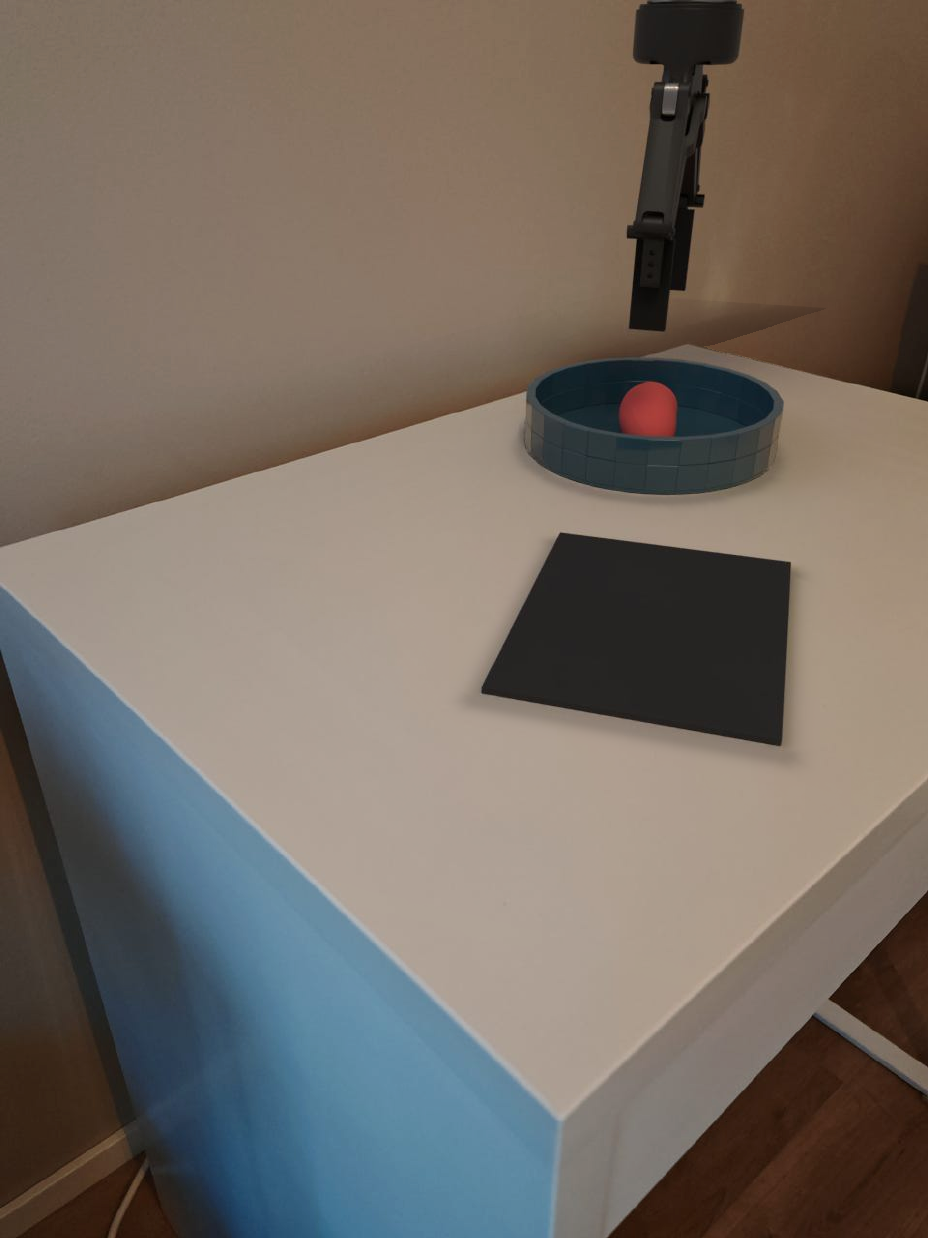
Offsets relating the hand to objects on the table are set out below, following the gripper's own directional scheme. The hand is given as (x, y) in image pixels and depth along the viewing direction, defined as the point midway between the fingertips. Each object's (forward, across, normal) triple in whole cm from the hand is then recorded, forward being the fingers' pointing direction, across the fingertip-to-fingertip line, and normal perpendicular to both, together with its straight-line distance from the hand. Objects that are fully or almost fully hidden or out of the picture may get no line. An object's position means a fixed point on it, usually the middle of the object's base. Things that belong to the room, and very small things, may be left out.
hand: (659, 308), depth 79 cm
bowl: (+12, 0, 0) cm, 12 cm away
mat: (+12, +30, +5) cm, 33 cm away
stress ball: (+12, 0, 0) cm, 12 cm away
